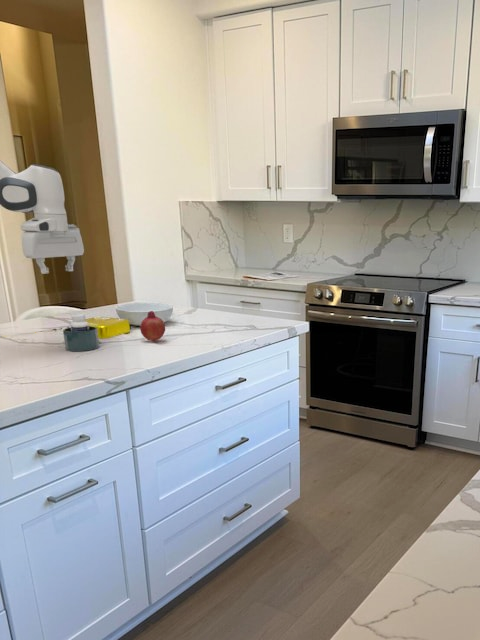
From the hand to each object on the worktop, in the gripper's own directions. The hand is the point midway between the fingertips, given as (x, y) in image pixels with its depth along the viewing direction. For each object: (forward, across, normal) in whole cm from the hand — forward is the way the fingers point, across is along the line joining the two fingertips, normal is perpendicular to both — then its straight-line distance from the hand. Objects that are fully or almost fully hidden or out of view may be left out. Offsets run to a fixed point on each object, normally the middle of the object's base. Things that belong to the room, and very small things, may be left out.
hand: (57, 272), depth 185 cm
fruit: (+23, -21, +18) cm, 36 cm away
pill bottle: (+23, -2, +4) cm, 23 cm away
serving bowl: (+23, -44, -5) cm, 50 cm away
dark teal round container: (+23, -2, +4) cm, 24 cm away
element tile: (+23, -22, -6) cm, 33 cm away
